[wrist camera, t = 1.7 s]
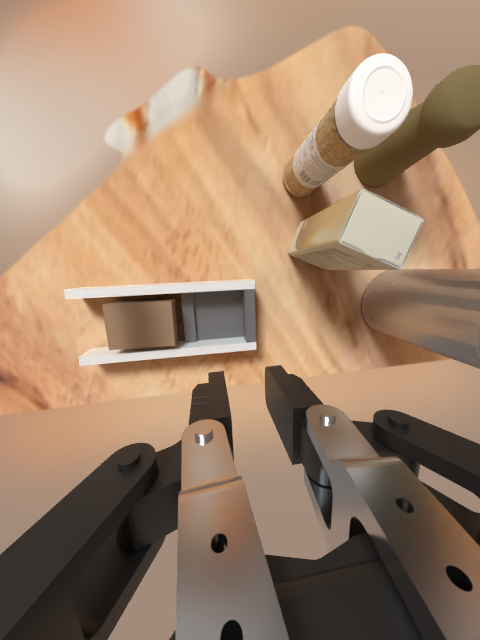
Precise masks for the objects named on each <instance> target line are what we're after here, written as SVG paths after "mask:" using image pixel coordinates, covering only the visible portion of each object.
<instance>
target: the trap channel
mask: <svg viewBox="0 0 480 640" xmlns="http://www.w3.org/2000/svg"><path fill="white" fill-rule="evenodd" d="M171 293H180V294H181V304H182V314H183V324H184V334H185V341H177V342H176V345H175V346H164V347H149V348H134V349H119V350H109V347H103V348H91V349H90V350H88V351H87V352H86V353H84V354H83V355H81V356H80V357H78V359H79V364H80V366H84V365H95V364H106V363H117V362H128V361H138V360H149V359H160V358H171V357H182V356H193V355H204V354H214V353H225V352H236V351H247V350H256V317H255V280H251V279H242V280H222V281H202V282H182V283H162V284H141V285H121V286H101V287H81V288H73V289H66V290H64V294H65V298H66V299H81V298H99V297H117V296H135V295H153V294H171Z"/></svg>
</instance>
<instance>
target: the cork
mask: <svg viewBox="0 0 480 640" xmlns="http://www.w3.org/2000/svg"><path fill="white" fill-rule="evenodd" d="M479 129H480V66H479V65H470V66H466V67H463V68H460V69H458V70H456V71H454V72H452V73H450V75H448V76H447V77H446V78H444V79H443V80H442V81H441V82H440V83H439V84H437V85H436V86H435V87H434V88H433V90H432V91H431V92H430V93H429V95H428V96H427V98H426V99H425V101H424V102H423V103H421V104H419V105H418V106H416V107H414V108H413V109H411V110H409V113H408V115H407V117H406V119H405V120H404V122H403V123H402V125H401V126H400V127H399V128H398V129H397V130H396V131H395V132H394V133H393V134H391V135H390V136H389V137H387V138H386V139H385V140H384V141H382V142H381V143H379V144H378V145H377V146H375V147H372V148H370V149H367V150H366V151H365V152H363V153H362V154H361V155H360V156H358V157H357V158H356V159H354V168H355V173H356V175H357V177H358V178H359V180H360V181H361V182H362V183H363V184H364V185H367V186H369V187H379V186H382V185H384V184H386V183H387V182H389V181H390V180H392V179H393V178H395V177H396V176H397V175H399V174H400V173H402V172H403V171H405V170H406V169H408V168H409V167H411V166H412V165H413V164H415V163H416V162H418V161H419V160H421V159H422V158H424V157H425V156H427V155H428V154H430V153H431V152H432V151H434V150H435V149H437V148H446V147H450V146H453V145H456V144H458V143H460V142H462V141H465V140H466V139H468V138H469V137H470V136H472V135H473V134H474V133H475V132H477V130H479Z"/></svg>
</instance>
